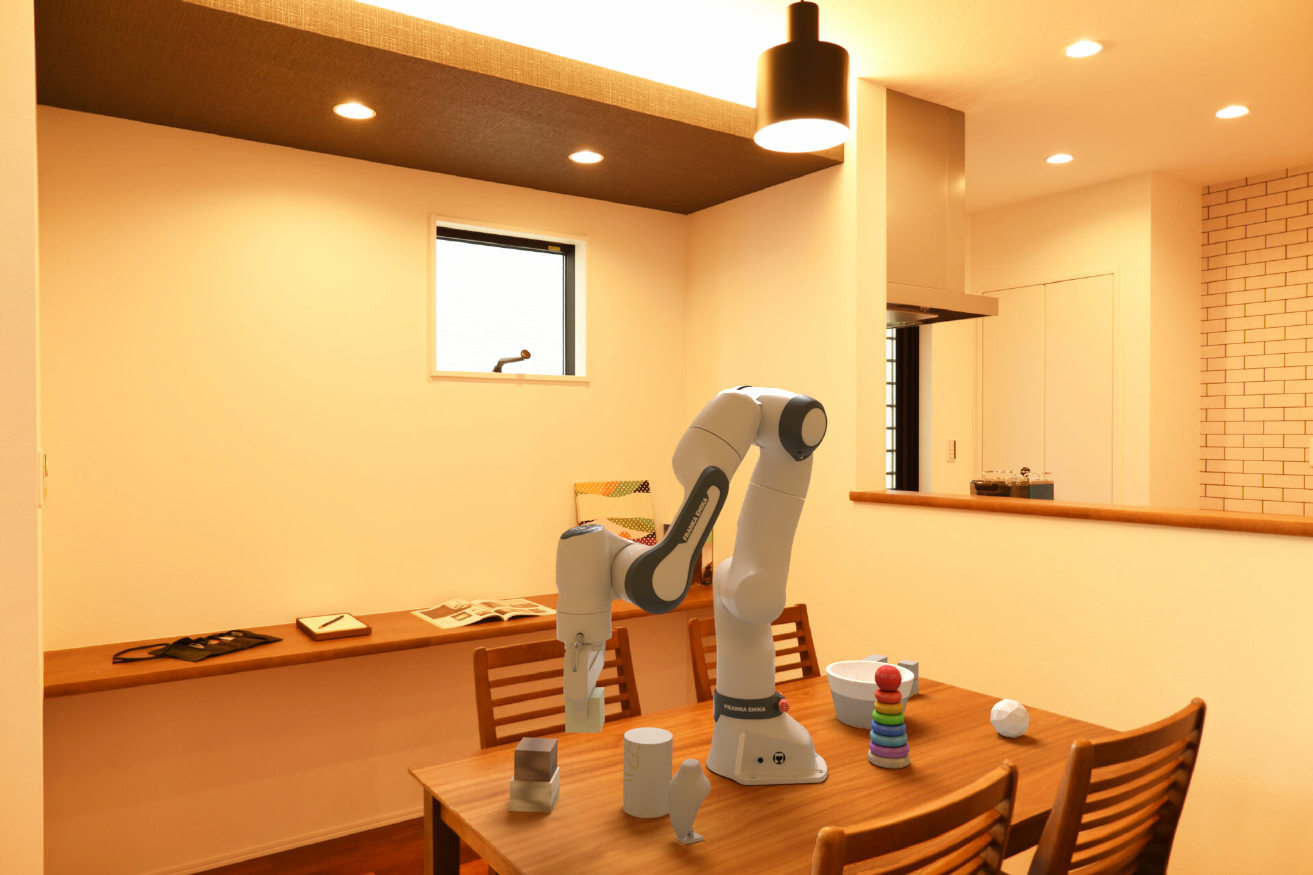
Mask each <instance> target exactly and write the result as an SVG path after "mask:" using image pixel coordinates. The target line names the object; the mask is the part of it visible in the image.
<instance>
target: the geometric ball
mask: <svg viewBox="0 0 1313 875" xmlns="http://www.w3.org/2000/svg"><path fill="white" fill-rule="evenodd" d="M1030 718H1031V716H1030V714H1029V712H1028V710H1027V709H1026V708H1025V706H1024V705H1022V704H1021V703H1020V702H1019V701H1018V700H1013V699H1009V698H1004V699H1002V700H1000V701H998V702H997V703H995V704H994V705H993V707H992V709H991V710H990V723H991V724H992V726H993V728H994V731H996V732H997V733H998V734H1000V735H1001V736H1004V737H1007V738H1011V739H1016V738H1018V737H1021V736H1023V735H1024V734H1026V733H1027V730H1028V728H1029V727H1030Z"/></svg>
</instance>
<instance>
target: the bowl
mask: <svg viewBox="0 0 1313 875" xmlns="http://www.w3.org/2000/svg"><path fill="white" fill-rule="evenodd" d="M883 665H891V666H894V667H896V668H897V669H898V670H899V671H900V673H901V676H902V682H901V685H900V687H899V688H898V689H897V690H899V691H900V692H901V694H902V699H901V701H900V702H902V704H903V706H904V709H903V711H902V713H903V714H904V715H905V712H906V708H907V704H908V700H909V699H908V697H909V694H910V691H911V687H912V684H913V680H914V674H913V673H912V672H911V671H910V670H908V669H906V668H903V667H900V666H898V664H897V665H896V664H891V663H888V662H887V663H882V662H874V661H860V660H842V661H837V662H833V663H830V664H828V665H827V666H826V668H825V672H826V677H827V681H828V685H829V688H830V694H831V697H832V701H833V707H834V709H835V711H834V712H835V716H836V719H837V720H838V721H839V722H840V723H843V724H844V723H845V724H844V725H847V726H850V725H851V727H853V726H854V727H855V728H857V727H860V728H859V729H863V728H866V729H865V730H872V726H871V724H872V721H873V720H874V719H873V716H872V714H873V711H874V710H875V707H874V703H875V701H876V700H877V699H876V697H875V692H876V690H877V689H880V688H879V687H878V686H877V684H876V682H875V673H876V671H877V669H878V668H879V667H881V666H883Z"/></svg>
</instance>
